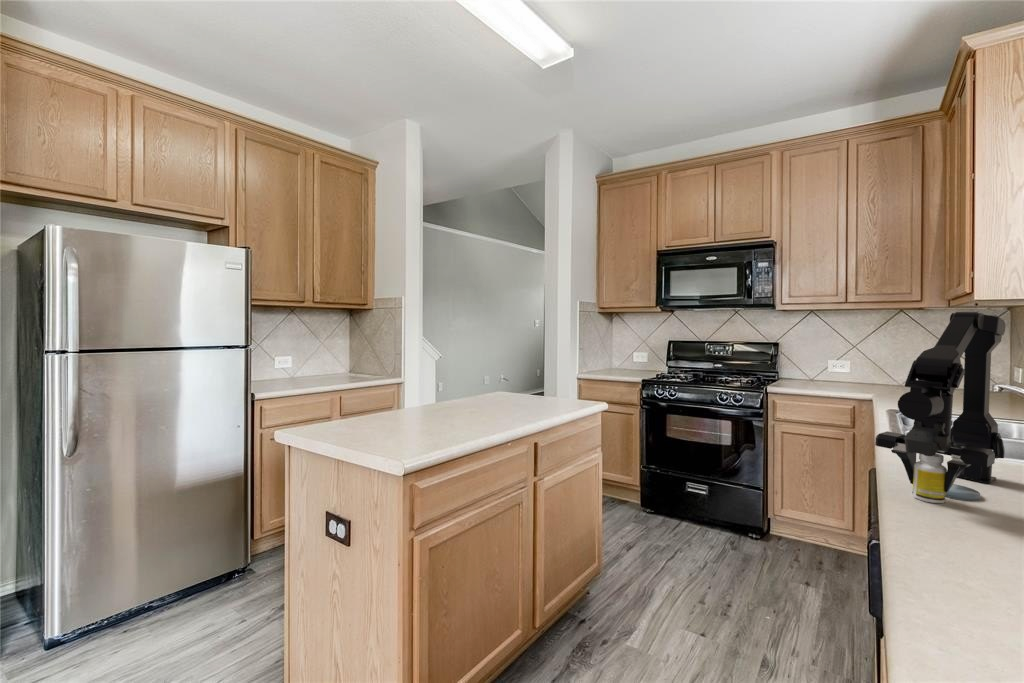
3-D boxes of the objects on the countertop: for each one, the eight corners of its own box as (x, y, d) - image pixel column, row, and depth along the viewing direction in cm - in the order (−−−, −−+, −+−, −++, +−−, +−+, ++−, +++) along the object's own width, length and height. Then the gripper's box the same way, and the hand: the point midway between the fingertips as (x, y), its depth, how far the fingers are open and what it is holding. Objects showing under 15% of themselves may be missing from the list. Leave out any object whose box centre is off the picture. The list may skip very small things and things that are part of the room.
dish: (933, 483, 116) (933, 478, 116) (985, 495, 109) (985, 490, 109) (919, 490, 111) (919, 485, 111) (972, 503, 104) (973, 498, 104)
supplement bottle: (951, 505, 103) (954, 458, 102) (921, 502, 104) (924, 456, 103) (934, 495, 108) (937, 451, 107) (906, 493, 109) (909, 449, 108)
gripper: (866, 411, 108) (862, 481, 109) (981, 428, 93) (975, 510, 93) (887, 406, 114) (883, 473, 115) (998, 422, 99) (992, 498, 100)
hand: (929, 487), depth 106 cm, fingers closed on supplement bottle, 5 cm apart
